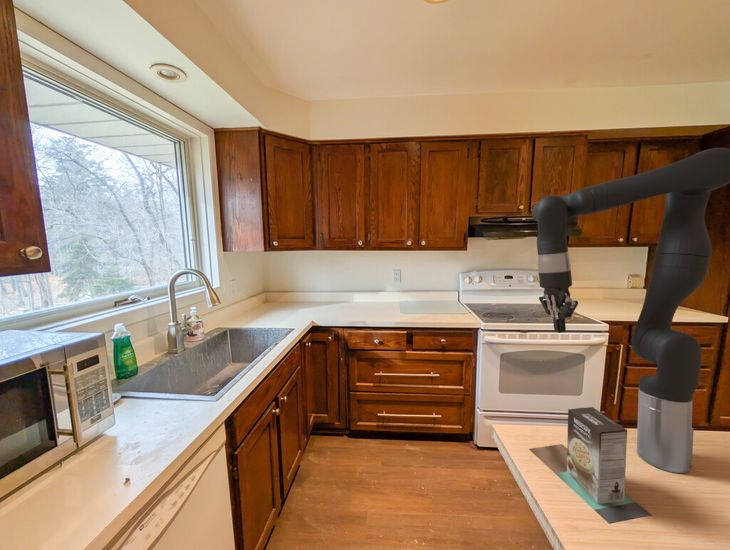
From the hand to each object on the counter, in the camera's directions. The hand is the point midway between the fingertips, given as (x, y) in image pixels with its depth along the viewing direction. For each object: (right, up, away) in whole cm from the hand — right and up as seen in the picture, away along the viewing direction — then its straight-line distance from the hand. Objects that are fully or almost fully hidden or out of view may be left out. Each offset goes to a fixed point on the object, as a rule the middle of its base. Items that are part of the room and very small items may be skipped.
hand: (560, 331), depth 80 cm
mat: (-3, -32, -12) cm, 34 cm away
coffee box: (-3, -32, -15) cm, 36 cm away
